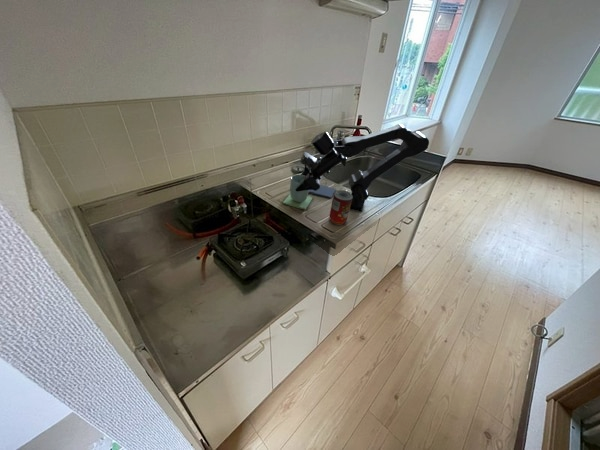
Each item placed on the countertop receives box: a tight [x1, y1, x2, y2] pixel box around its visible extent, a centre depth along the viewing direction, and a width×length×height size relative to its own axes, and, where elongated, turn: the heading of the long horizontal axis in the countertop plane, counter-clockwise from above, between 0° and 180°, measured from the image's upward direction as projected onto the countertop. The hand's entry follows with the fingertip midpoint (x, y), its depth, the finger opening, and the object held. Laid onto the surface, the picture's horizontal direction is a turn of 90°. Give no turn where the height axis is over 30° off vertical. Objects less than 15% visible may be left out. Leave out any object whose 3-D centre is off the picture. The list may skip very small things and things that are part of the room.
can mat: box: [308, 184, 336, 199], centre depth 113 cm, size 11×9×1 cm
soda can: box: [329, 189, 353, 226], centre depth 91 cm, size 7×7×12 cm
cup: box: [289, 174, 309, 202], centre depth 100 cm, size 8×8×10 cm
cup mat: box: [282, 194, 313, 211], centre depth 103 cm, size 10×10×1 cm
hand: (296, 185), depth 99 cm, fingers closed on cup, 8 cm apart
